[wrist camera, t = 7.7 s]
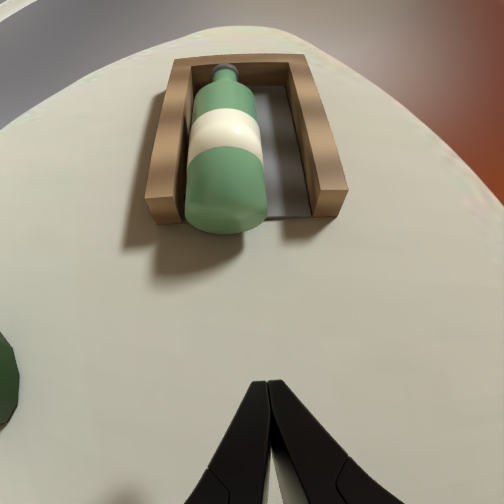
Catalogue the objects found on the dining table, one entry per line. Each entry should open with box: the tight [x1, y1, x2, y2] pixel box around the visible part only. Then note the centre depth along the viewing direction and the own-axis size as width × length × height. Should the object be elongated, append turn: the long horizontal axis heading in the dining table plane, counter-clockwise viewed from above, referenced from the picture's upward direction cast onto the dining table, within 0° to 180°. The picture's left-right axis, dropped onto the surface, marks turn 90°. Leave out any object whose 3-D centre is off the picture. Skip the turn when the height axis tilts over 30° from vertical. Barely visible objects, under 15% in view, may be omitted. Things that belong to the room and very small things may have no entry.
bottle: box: [185, 63, 268, 234], centre depth 24 cm, size 6×6×17 cm
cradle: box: [144, 54, 349, 224], centre depth 27 cm, size 19×14×4 cm
